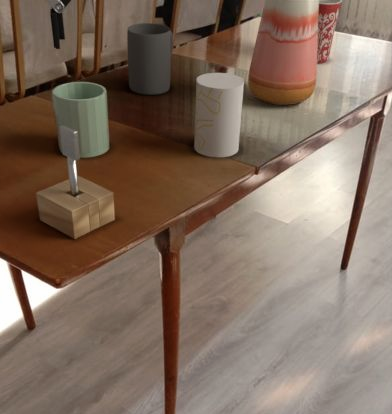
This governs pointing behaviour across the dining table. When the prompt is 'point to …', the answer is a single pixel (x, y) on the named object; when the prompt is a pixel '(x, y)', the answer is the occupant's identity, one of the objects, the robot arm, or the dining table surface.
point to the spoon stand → (76, 207)
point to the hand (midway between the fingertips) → (17, 46)
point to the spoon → (71, 156)
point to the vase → (285, 52)
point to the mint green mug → (83, 115)
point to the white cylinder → (218, 114)
